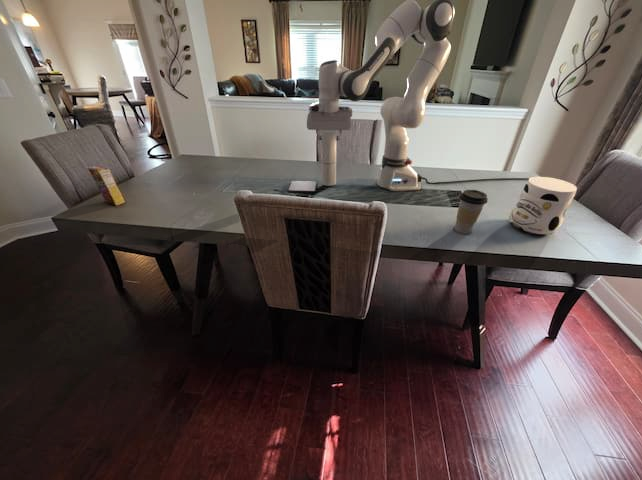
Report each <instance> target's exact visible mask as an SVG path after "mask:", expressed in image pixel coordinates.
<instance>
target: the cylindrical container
mask: <svg viewBox="0 0 642 480" xmlns="http://www.w3.org/2000/svg"><path fill="white" fill-rule="evenodd" d="M320 131H321V132H320V136H321V139H322V140H320V143H321V146H320V147H321V184H322V185H323V186H326V187H333V186H335V185H336V184H337V143H338V142H337V141H338V140H336V139H337V138H336V136H338V135H337V134H338V130H320Z"/></svg>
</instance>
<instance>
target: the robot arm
mask: <svg viewBox="0 0 642 480" xmlns="http://www.w3.org/2000/svg"><path fill="white" fill-rule="evenodd" d="M454 19H455V5H454V3H453V2H452V1H451V0H434V1H432V3H431V4H429V5H427V6H426V7H425V8H422V7H421V6H420V5H419V3H418V2H417V1H416V0H405V1H404V2H402V3H401V4H400V5H399V6H397V7H396V8H395V9H394V10H393V11H392V12H391V13H390V15H388V16H387V18H386V19H385V20H384V21H383V23H382V24H381V25H380V26H379V28H378V30H377V31H376V34H375V40H374V41H375V49H374V51H373V53H371V55H370V56H369V57H368V59H367V60H366V61H365V62H364V64H363V65H362V66H361V67H360V68H359V69H357V70H352V69H349V68H347V67H345V66H344V65H343V64H341V63H340V62H339V61H338V60H336V59H333V60H327V61H325V62H322V63H321V64H320V65H319V69H318V91H319V95H318V101H317V102H315V103H314V102H313V103H312V104H310V105H309V106H308V113H307V117H306V128H307V130H308V131H315V133H316V135H317V137H318V138H317V139H318V141H321V140H322V139H321V134H320V131H321V130H337V131H338V135H337V136H336V138H337V139H336V140H337V141H340V137H341V135H342V133H343V131H350V130H351V129H352V119H351V118H352V117H353V109H352V108H351V107H350V106H340V96H343V97H345V98H347V99H348V100H349V101H351V102H359V101H362V100H363V99H364V98H365V96H366V95H367V94H368V91H369V89H370V87H371V85H372V82H373V81H374V80H375V78H377V76H378V75H379V73H380V72H382V70H383V68H384V67H385V66H386V65H387V63H389V61H390V60H391V58H392V57H393V56H394V54H396V52H398V50H399V49H400V48H401V47H403V45H404V44H405V43H406V42H407V40H409V38H410V37H411V38H412V39H413V40H414V41H415V42H416V43H418V44H421V45H423V49H422V51H421V53H420V56H419V57H418V59H417V61H416V62H415V63H414V66H413V68H412V70H411V71H410V73H409V74H408V76H407V78H406V85H407V88H406V91H405V94H404V96H403V97H400V96H391V97H387V98H386V99H384V101H382V104H381V106H380V116H381V118H382V120H383V125H384V133H385V139H384V140H385V142H384V150H383V155H382V158H381V164H380V165H381V167H380V173H379V176H378V179H377V182H376V184H377V186H379V187H380V188H382V189H386V190H389V191H391V192H403V191H419V190H421V189H422V183H421V182H422V180H424V181H425V183H426V184H429V185H440V184H456V183H469V182H482V181H485V182H486V181H507V180H508V181H509V180H510V181H511V180H512V181H513V180H514V181H516V180H517V181H523V180H524V181H528V180H529V178H530V177H499V178H497V177H495V178H479V179H478V178H477V179H464V180H452V181H438V182H430V181H428V179H427V178H426V177H423V176H421V174H420V173H417V171H415V169H414V168H413V167H411V166H410V165H412V164H413V161H412V159H410V158H409V157H408V156H407V155H408V150H409V143H410V139H409V136H408V134H407V129H417V128H419V127H420V126H421V125H422V124H423V122H424V120H425V117H426V108H425V105H426V101H427V98H428V95H429V94H430V91H431V89H432V87H433V86H434V84H435V82H436V80H437V78H438V77H439V76H440V74H441V72H442V70H443V69H444V66H445V65H446V62H447V60H448V58H449V56H450V54H451V50H452V46H451V42H450V41H449V40H448V37H449V36H450V35H451V30H452V26H453V23H454Z"/></svg>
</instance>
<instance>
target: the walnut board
mask: <svg viewBox="0 0 642 480" xmlns="http://www.w3.org/2000/svg"><path fill="white" fill-rule="evenodd" d="M317 184H318V182H317V180H314V181H312V180H291V182H290V185H289V187H288V190H287V192H288V193H291V194H292V193H293V194H316V189H317Z"/></svg>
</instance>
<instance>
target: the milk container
mask: <svg viewBox="0 0 642 480" xmlns="http://www.w3.org/2000/svg"><path fill="white" fill-rule="evenodd" d="M528 178H529V180H526V181H527V182H526V183H525V185H524V187H523V189H522V191H521V193H520V196H519V197H518V200H517V201H516V203H515V204H514V205H513V206H512V208H511V210H510V211H509V215H508V223H510V225H511V226H513V227H514V228H515V229H517V230H520V231H521V232H524V233H526V234H531V235H535V236H536V235H537V236H546V235H552V234H554V233H555V232H557V230H558V229H559V228H560V227H561V226H562V224H563V221H564V218H565V213H566V211H567V209H568V208H569V206H570V205H571V203H572V201H573V199H574V197H575V196H576V193H577V190H578V187H577V186H576V185H575V184H573V183H571V182H570V181H566V180H563V179H559V178H554V177H549V176H532V177H528Z"/></svg>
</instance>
